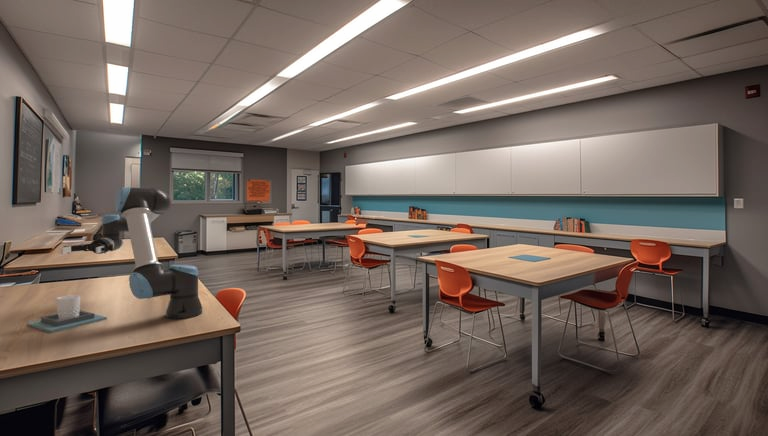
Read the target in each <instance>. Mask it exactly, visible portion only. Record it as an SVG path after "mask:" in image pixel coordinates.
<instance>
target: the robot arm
mask: <svg viewBox="0 0 768 436" xmlns="http://www.w3.org/2000/svg"><path fill="white" fill-rule="evenodd" d="M171 206H172V199H171V197H170V195H169V194H168V193H167V192H165V191H164V190H162V189H160V188H156V187H155V188H154V187H153V188H152V187H131V186H128V187H123V186H122V187H120V188H119V189H117V191H116V194H115V197H114V210H115V212H116V213H120V215H121V217H120V215H119V214H103V215H102V221H101V228H102V231H101V232H102V235H101V236H102V237H101V238H96V239H94V240H92V242H91V243H82V244H75V245H74V244H73V245H64V246H63V247H61V248H60V254H61V255H64V254H65V255H66V254H70V253H72V252H81V251H83V252H93V253H94V254H98V255H101V254H107V253H108V252H114V251H117V250H119V249H121V248H122V246H123V244H124V241H123V239H122V238H121V235H120V233H121V232H122V233H125V232H128V234H129V239H130V243H131V248H132V253H133V254H132V255H133V259H134V263H135V266H134V268H133V269H132V273H130V275H129V276H128V277H129V278H128V281H129V288H130V292H131V294H132V295H133V296H134V297H135V298H136V299H139V300H144V299H152V298H158V297H163V296H168V295H169V300H168V301H169V302H168V304H167V308H166V310H165V317H166V318H167V319H171V320H172V319H174V320H175V319H176V320H177V319H180V320H181V319H187V318H188V317H189V318H193V317H192V316H194V317H196V315H197V316H199V315H198V314H200V313H201V314H202V313H203V306H202V303H201V301H200V297H199V270H198V269H199V268H198V267H197V266H195V265H191V264H171V265H170V266H169V268H164V264H163V263H161V262H159V260H158V259H159V258H158V255H157V250H156V245H155V242H154V241H155V240H154V237H153V231H152V228H151V227H152V222H153V221H155V220H156V219H157V218H159V216H161V215H164V214H165V213H167V212H168V211H169V210H170V209H171ZM201 314H200V315H201Z"/></svg>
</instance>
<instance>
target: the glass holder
mask: <svg viewBox="0 0 768 436" xmlns="http://www.w3.org/2000/svg"><path fill="white" fill-rule="evenodd" d="M106 320H108V317H107V316H104V315H100V314H96V313H94V312H89V311H87V310H82V309H81V310H80V312H79V316H78V317H73V318H69V319H64V320H60V321H59V317H58V313H55V314H49V315H46V316H41V317H40V320H34V321H31V322H27V323H26V326H28V325H29V326H28V327H31V326H32V327H31V328H34V327H35V329H37V328H38V329H37V330H41V331H45V332H48V333H51V334H52V333H56V332H61V331H64V330H68V329H73V328H76V327H77V328H78V327H81V326H84V325H89V324H93V323H97V322H101V321H106Z"/></svg>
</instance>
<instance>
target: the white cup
mask: <svg viewBox="0 0 768 436" xmlns="http://www.w3.org/2000/svg"><path fill="white" fill-rule="evenodd" d="M80 309H81V295H79V294H70V295H69V294H68V295H63V296H59V297H56V310H57V314H58V317H59V321H60V320H64V319H69V318H73V317H78V316H79V312H80Z"/></svg>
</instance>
